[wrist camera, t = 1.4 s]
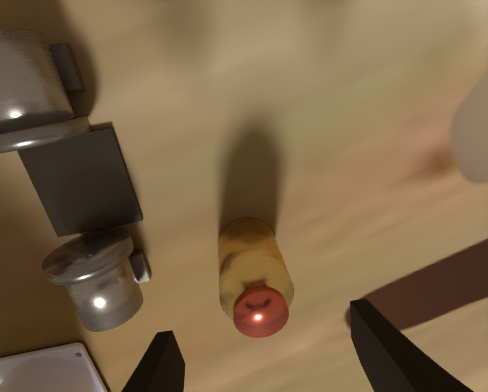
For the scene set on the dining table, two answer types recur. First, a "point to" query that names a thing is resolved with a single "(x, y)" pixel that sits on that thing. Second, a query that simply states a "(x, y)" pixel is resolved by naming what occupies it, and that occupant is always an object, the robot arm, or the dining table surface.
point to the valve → (253, 278)
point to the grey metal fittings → (72, 179)
